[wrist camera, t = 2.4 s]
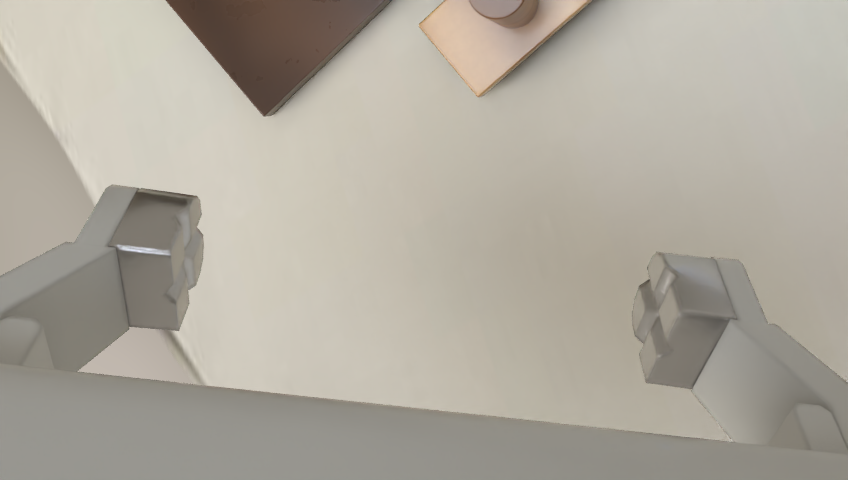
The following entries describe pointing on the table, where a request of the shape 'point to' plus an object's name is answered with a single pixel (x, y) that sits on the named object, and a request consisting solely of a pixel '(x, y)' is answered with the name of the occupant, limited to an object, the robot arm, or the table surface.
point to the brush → (494, 34)
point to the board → (274, 39)
